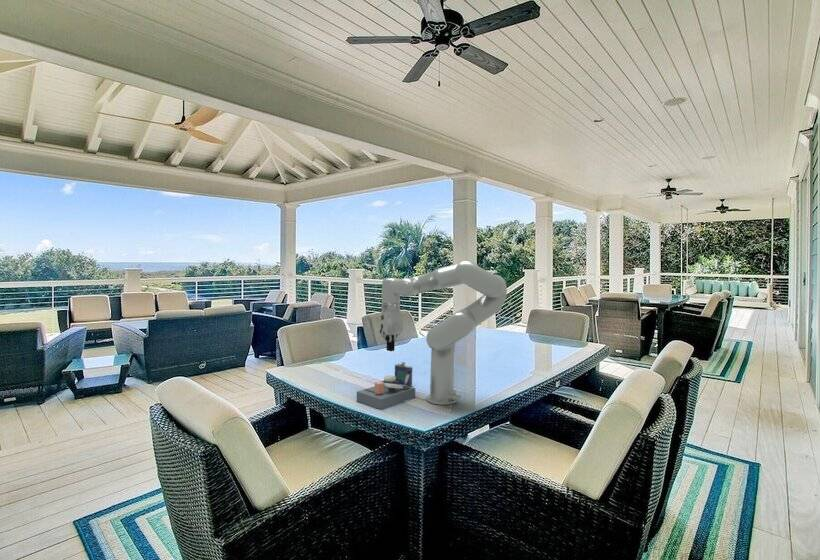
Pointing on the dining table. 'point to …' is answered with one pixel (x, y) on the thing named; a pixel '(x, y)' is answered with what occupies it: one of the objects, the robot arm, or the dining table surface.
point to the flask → (403, 374)
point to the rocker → (393, 385)
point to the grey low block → (385, 396)
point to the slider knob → (379, 387)
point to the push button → (389, 379)
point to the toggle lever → (407, 377)
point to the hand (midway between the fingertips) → (390, 350)
